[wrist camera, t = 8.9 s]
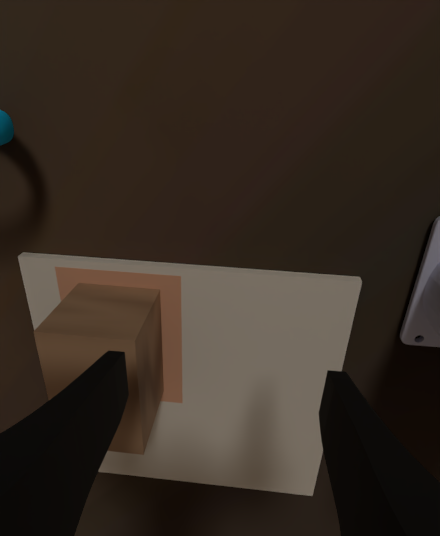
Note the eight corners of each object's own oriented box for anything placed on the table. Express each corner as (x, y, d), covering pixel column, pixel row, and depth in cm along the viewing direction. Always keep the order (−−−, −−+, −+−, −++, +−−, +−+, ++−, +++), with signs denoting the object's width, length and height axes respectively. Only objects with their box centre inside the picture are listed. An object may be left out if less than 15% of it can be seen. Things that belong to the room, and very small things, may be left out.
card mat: (359, 276, 21) (362, 281, 21) (311, 488, 29) (312, 496, 29) (23, 252, 22) (17, 256, 22) (68, 461, 31) (65, 468, 30)
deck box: (163, 390, 26) (143, 454, 21) (93, 383, 26) (58, 445, 21) (160, 289, 22) (134, 340, 18) (78, 282, 22) (33, 331, 18)
